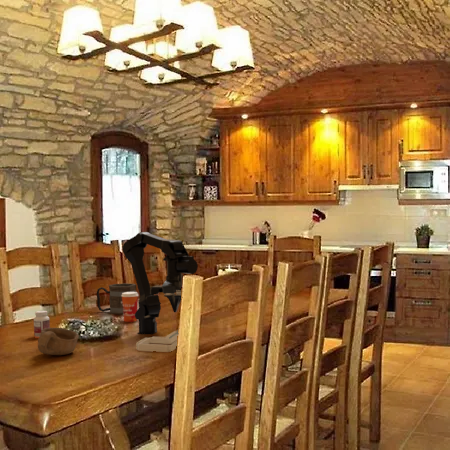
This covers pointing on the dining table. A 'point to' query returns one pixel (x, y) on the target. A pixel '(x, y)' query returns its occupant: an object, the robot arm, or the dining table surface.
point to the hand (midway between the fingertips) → (175, 312)
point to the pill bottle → (40, 322)
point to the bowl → (57, 341)
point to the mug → (116, 297)
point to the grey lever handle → (172, 336)
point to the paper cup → (129, 305)
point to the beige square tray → (146, 346)
